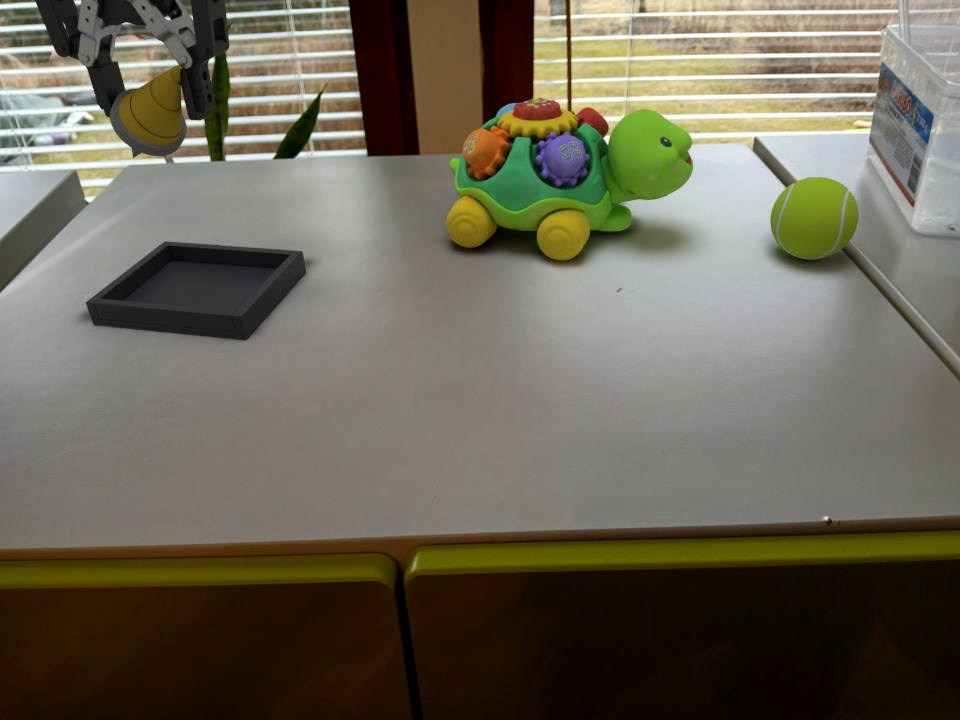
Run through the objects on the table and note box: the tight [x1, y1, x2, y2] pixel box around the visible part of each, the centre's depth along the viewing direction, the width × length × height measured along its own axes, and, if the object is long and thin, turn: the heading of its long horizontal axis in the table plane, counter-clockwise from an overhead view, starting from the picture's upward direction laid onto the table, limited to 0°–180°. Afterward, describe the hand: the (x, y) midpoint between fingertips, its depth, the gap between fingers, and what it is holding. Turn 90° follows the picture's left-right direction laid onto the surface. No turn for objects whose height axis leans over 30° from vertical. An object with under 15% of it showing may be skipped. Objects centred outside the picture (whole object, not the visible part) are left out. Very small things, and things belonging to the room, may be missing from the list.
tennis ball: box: [770, 176, 859, 261], centre depth 68 cm, size 7×7×7 cm
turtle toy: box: [445, 97, 694, 262], centre depth 74 cm, size 17×23×12 cm
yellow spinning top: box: [109, 64, 188, 159], centre depth 59 cm, size 5×5×10 cm
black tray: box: [85, 240, 307, 340], centre depth 67 cm, size 14×12×2 cm
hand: (159, 115), depth 60 cm, fingers closed on yellow spinning top, 6 cm apart
